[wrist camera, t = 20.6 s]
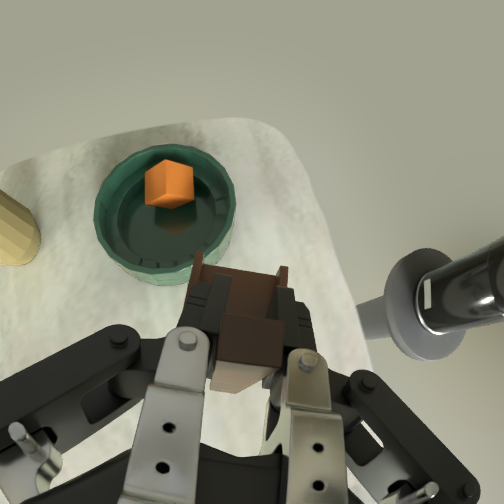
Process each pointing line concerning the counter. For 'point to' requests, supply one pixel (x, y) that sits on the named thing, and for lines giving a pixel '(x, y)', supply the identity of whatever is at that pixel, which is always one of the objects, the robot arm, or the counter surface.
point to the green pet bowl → (164, 217)
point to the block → (169, 185)
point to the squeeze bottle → (17, 232)
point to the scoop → (244, 326)
